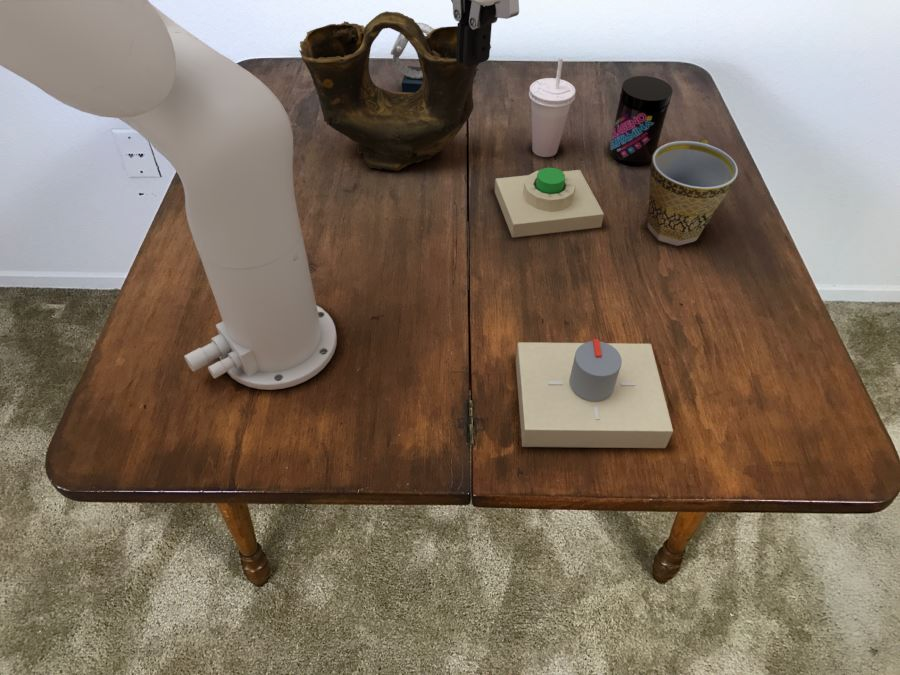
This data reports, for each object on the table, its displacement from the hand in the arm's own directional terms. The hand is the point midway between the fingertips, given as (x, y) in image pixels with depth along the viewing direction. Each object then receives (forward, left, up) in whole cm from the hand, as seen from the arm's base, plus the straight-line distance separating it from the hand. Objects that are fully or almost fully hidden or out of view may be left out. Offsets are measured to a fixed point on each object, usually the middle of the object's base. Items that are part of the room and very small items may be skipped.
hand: (472, 60), depth 70 cm
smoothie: (+21, +7, -23) cm, 32 cm away
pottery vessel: (+4, +20, -23) cm, 31 cm away
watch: (+17, +32, -23) cm, 43 cm away
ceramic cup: (+22, -16, -23) cm, 36 cm away
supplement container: (+30, -2, -23) cm, 38 cm away
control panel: (-9, -28, -23) cm, 37 cm away
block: (+11, -3, -23) cm, 26 cm away
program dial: (-9, -28, -20) cm, 35 cm away
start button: (+11, -3, -19) cm, 23 cm away
